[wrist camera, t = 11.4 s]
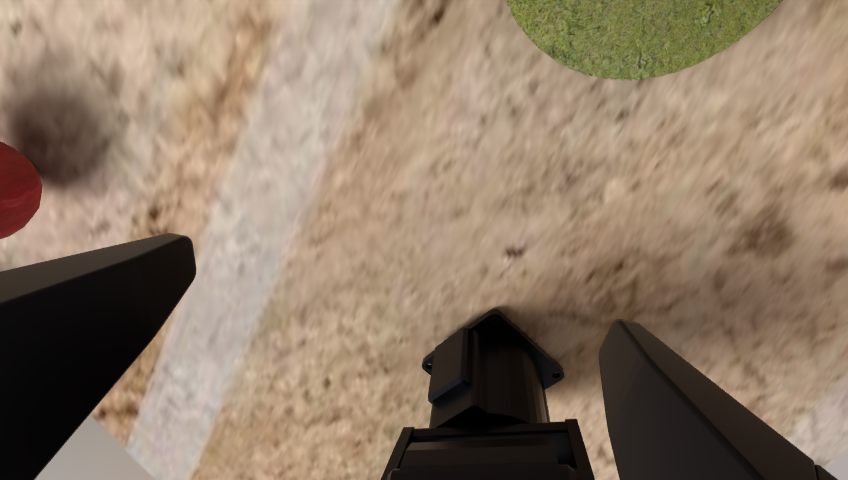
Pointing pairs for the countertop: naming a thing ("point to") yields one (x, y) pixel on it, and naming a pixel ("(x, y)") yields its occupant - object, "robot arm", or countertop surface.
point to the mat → (636, 32)
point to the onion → (17, 190)
